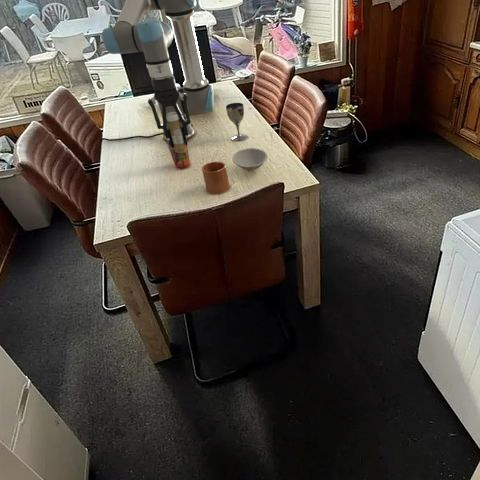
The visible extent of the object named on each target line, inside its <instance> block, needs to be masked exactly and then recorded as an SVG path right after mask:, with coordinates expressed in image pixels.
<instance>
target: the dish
mask: <svg viewBox="0 0 480 480" xmlns="http://www.w3.org/2000/svg"><path fill="white" fill-rule="evenodd" d="M231 160H232V163H233V164H234V165H236V166H237V167H239V168H240V169H242V170H245V171H254V170H257V169H259V168H260V167H262V166H263V165H264V164H265V162H267V160H268V154H267V152H266V151H265V150H263V149H260V148H255V147H250V148H243V149H240V150H238V151H236V152H235V153H234V154H233V156H232V157H231Z"/></svg>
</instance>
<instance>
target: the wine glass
mask: <svg viewBox="0 0 480 480" xmlns="http://www.w3.org/2000/svg"><path fill="white" fill-rule="evenodd" d="M225 110H226V114H227V117H228V119H229V121H230V122H231V123H232V124H234V126H235V128H236V131H237V135H234V136H232V137H231V140H232V141H233V142H241V141H244V140H247V136H246V135H245V134H240V125H241V123H242V121H243V119H244V116H245V108H244V104H243V102H231V103H228V104H227V105H225Z"/></svg>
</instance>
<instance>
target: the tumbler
mask: <svg viewBox="0 0 480 480" xmlns="http://www.w3.org/2000/svg"><path fill="white" fill-rule="evenodd" d="M201 172H202V176H203V180H204V183H205V184H204V185H205V189H206V192H207V193H208V194H211V195H219V194H224V193H226V192H227V191H229V189H230V181H229V177H228V171H227V165H226V163H225V162H222V161H210V162H207V163H205V164H204V165H202V167H201Z"/></svg>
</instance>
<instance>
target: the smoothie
mask: <svg viewBox="0 0 480 480" xmlns="http://www.w3.org/2000/svg"><path fill="white" fill-rule="evenodd" d="M165 139H166V144H167V147H168V150H169V153H170V156H171V158H172V162H173V165H174V166H175V167H176V169H179V170H185V169H187V168H189V167H190V163H191V159H190V152H189V148H188V145H186V148H187V150H186V151H184V152H181V153H177V152H175V149H174V148H172V146H171V143H170V139H169V138H168V139H167V138H166V136H165Z"/></svg>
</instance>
